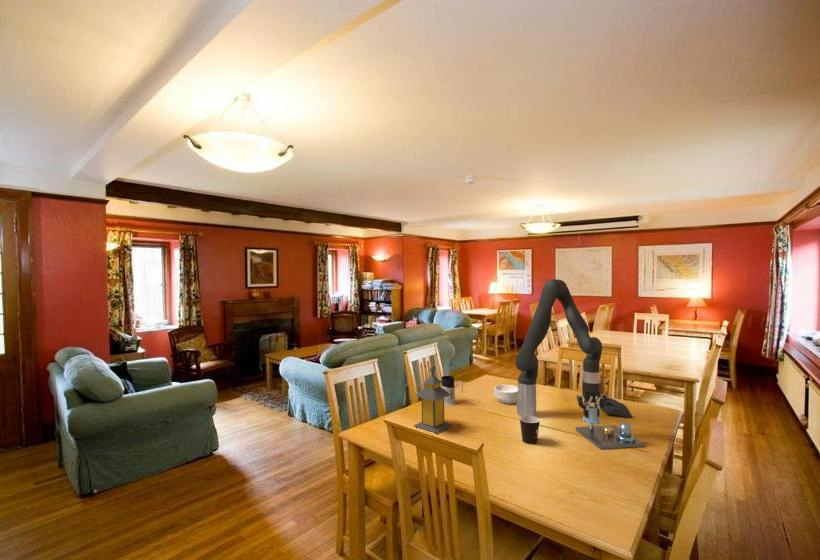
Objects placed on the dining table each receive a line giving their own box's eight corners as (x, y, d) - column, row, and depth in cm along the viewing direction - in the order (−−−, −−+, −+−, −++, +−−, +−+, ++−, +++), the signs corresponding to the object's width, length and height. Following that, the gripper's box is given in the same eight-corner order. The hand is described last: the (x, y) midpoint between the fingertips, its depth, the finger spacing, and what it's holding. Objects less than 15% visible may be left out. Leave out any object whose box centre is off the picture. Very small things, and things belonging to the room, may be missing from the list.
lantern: (453, 426, 191) (452, 366, 191) (435, 435, 181) (434, 371, 180) (431, 419, 201) (430, 361, 200) (413, 427, 191) (412, 367, 190)
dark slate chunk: (602, 417, 202) (602, 407, 202) (594, 403, 223) (594, 394, 223) (635, 419, 197) (635, 410, 197) (623, 405, 219) (623, 396, 218)
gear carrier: (600, 449, 164) (600, 430, 164) (575, 430, 184) (575, 413, 184) (644, 446, 166) (644, 428, 166) (615, 428, 186) (615, 411, 186)
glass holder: (445, 399, 231) (445, 374, 231) (466, 403, 223) (466, 378, 222) (437, 403, 224) (437, 378, 223) (459, 408, 216) (459, 381, 215)
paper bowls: (524, 405, 219) (523, 391, 218) (497, 405, 219) (497, 392, 219) (516, 396, 234) (516, 384, 234) (491, 397, 234) (491, 384, 234)
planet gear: (588, 425, 175) (588, 410, 175) (579, 418, 183) (579, 404, 183) (604, 424, 176) (604, 409, 176) (594, 417, 184) (594, 404, 184)
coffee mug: (529, 447, 167) (529, 424, 167) (515, 439, 175) (515, 417, 175) (548, 441, 173) (548, 419, 173) (534, 434, 180) (534, 413, 180)
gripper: (581, 383, 175) (581, 420, 175) (610, 382, 176) (611, 419, 176) (572, 379, 182) (572, 414, 183) (601, 377, 184) (601, 413, 184)
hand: (591, 416), depth 180 cm, fingers closed on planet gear, 4 cm apart
